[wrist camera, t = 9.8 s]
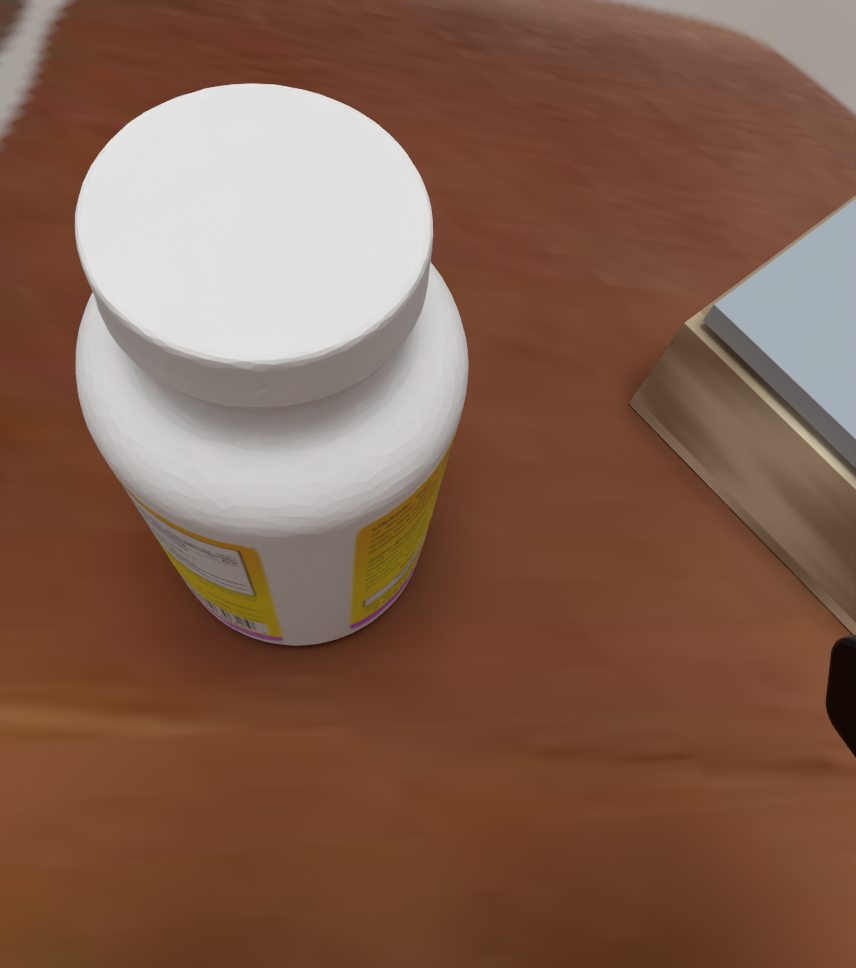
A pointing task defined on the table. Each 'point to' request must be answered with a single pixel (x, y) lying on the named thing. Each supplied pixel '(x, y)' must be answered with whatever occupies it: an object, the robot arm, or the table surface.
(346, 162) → the supplement bottle
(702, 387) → the wooden box
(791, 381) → the lid
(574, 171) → the table surface
